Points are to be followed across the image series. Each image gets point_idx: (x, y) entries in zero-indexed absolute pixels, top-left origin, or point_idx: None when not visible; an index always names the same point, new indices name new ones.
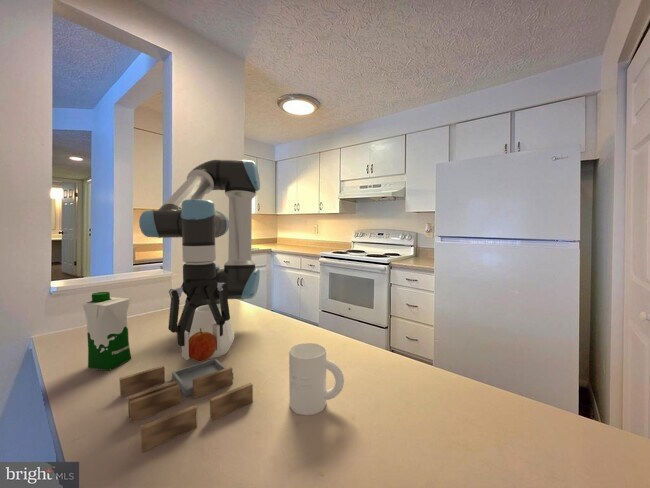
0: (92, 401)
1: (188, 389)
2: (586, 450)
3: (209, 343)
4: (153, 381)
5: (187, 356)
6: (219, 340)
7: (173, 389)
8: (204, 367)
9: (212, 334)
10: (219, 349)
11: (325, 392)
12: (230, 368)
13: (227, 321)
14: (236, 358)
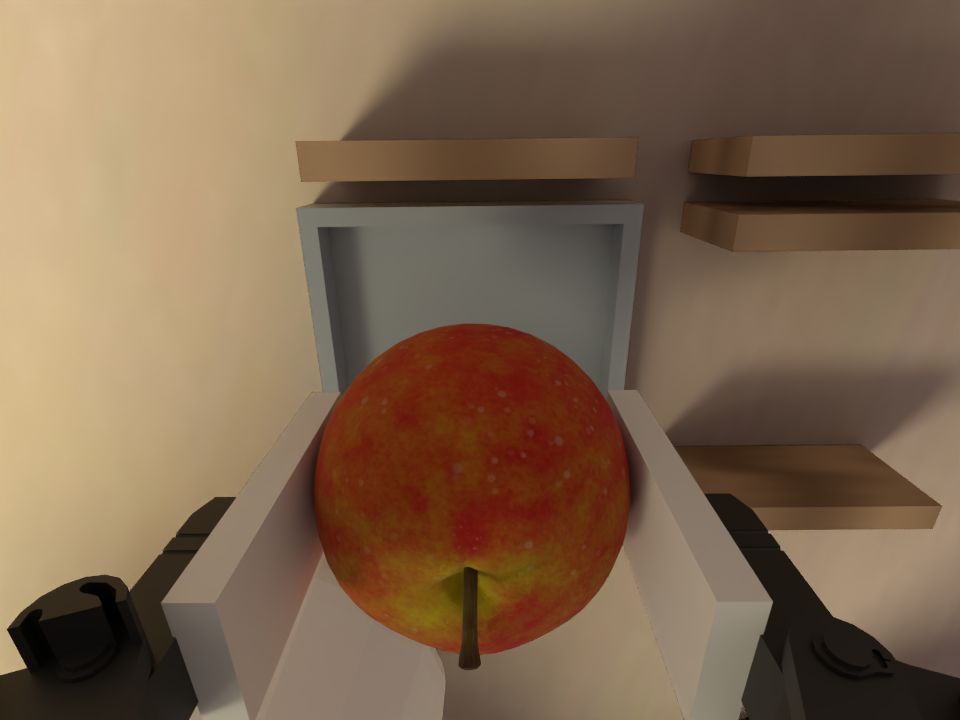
0: (956, 489)
1: (629, 205)
2: None
3: (425, 374)
4: (720, 462)
5: (628, 405)
6: (277, 446)
7: (797, 135)
8: None
9: (283, 684)
10: (314, 395)
11: None
12: (311, 145)
13: None
14: (209, 456)
